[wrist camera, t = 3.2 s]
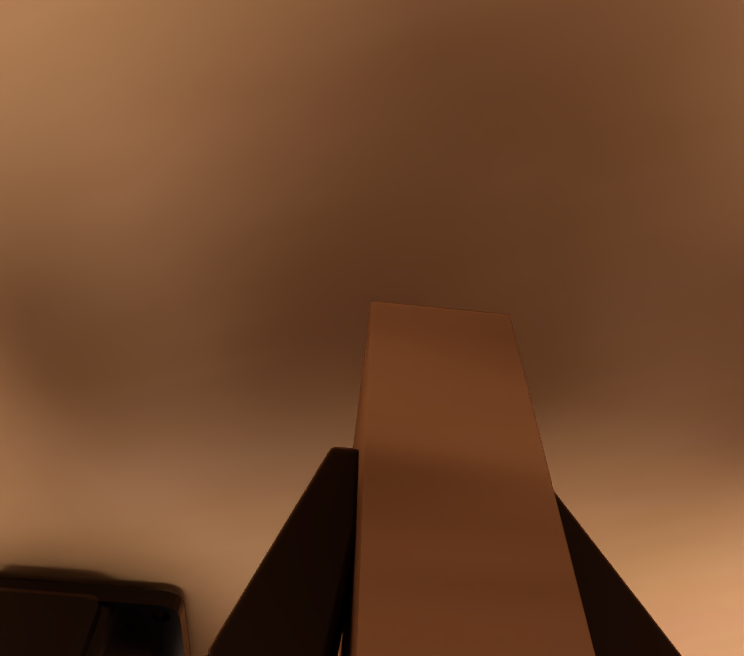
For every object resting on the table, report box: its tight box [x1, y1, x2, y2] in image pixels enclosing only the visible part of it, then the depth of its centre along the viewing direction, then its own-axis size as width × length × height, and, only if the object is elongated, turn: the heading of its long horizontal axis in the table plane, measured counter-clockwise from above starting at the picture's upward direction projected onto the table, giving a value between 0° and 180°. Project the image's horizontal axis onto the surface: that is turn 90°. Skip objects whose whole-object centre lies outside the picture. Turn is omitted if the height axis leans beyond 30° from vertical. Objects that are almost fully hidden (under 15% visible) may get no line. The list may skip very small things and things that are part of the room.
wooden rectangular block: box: [339, 301, 595, 656], centre depth 8 cm, size 4×2×6 cm, turn 174°
